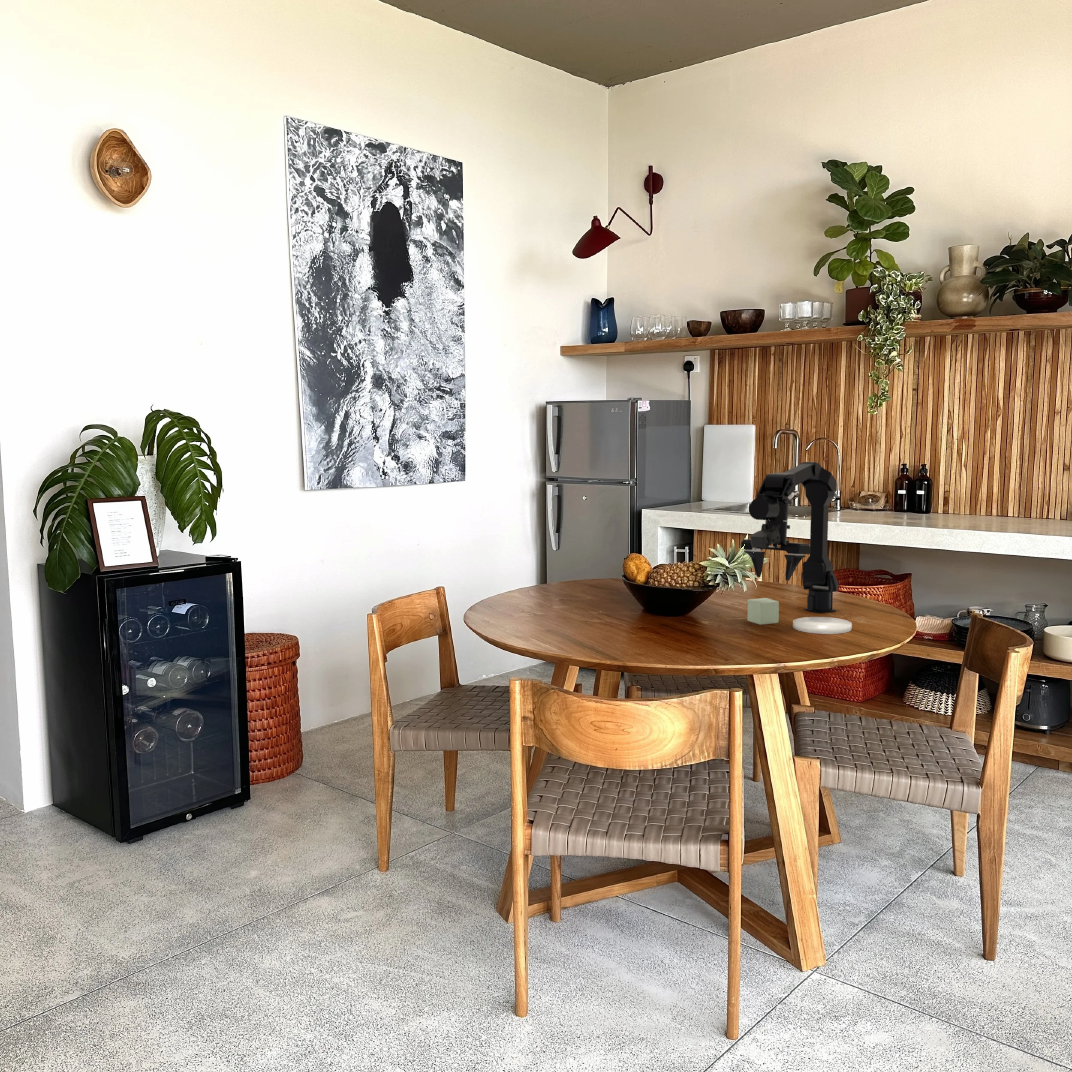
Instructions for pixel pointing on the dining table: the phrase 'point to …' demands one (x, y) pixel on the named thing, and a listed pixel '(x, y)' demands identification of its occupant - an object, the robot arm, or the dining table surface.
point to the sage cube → (763, 611)
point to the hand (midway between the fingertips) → (772, 579)
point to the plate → (822, 625)
